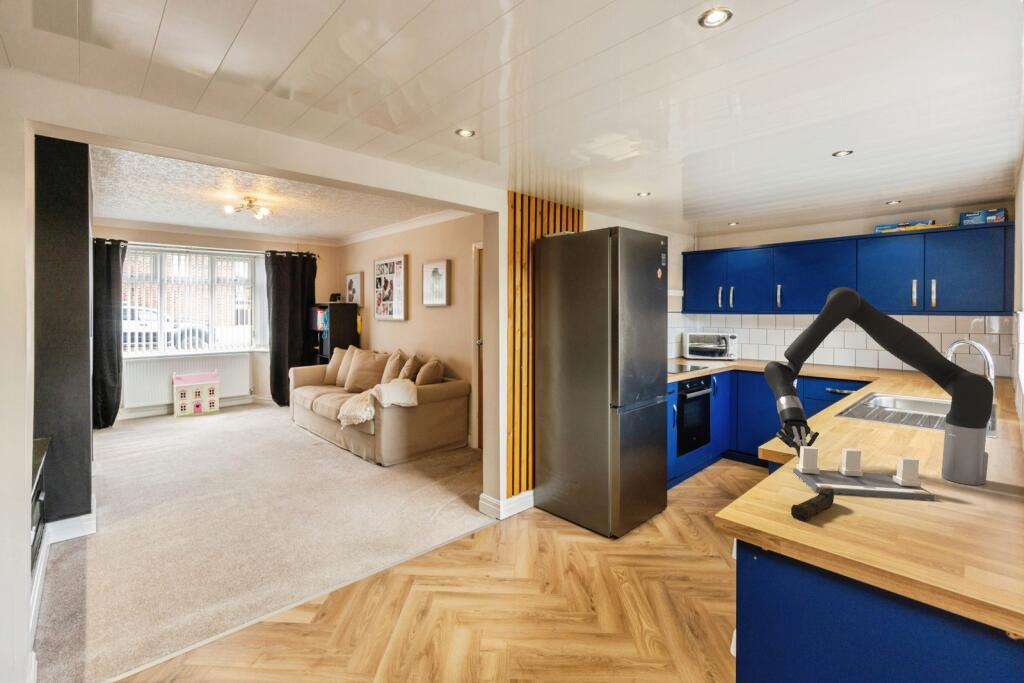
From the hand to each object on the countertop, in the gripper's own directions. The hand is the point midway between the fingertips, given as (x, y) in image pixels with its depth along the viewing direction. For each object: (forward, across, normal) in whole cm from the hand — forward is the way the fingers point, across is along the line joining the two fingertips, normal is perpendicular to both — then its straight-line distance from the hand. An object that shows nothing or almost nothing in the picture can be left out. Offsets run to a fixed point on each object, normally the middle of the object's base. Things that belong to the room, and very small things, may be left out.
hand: (804, 458), depth 153 cm
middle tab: (+4, +12, 0) cm, 13 cm away
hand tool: (+24, -9, -17) cm, 31 cm away
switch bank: (+9, +12, -2) cm, 15 cm away
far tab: (+4, 0, 0) cm, 4 cm away
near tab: (+8, +24, -4) cm, 26 cm away
